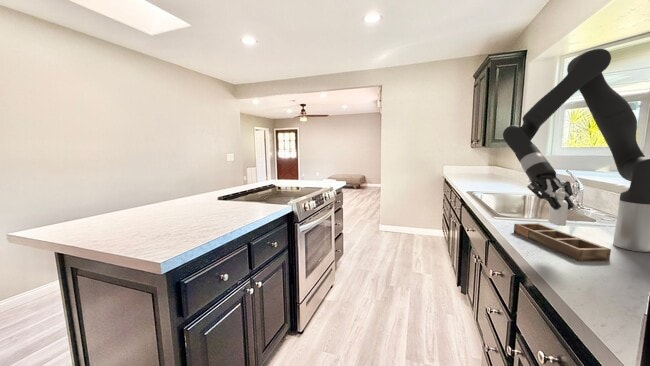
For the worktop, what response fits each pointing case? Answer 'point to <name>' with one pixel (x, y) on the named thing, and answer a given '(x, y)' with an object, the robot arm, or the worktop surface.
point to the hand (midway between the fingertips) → (564, 208)
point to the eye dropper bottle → (559, 210)
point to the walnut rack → (563, 242)
